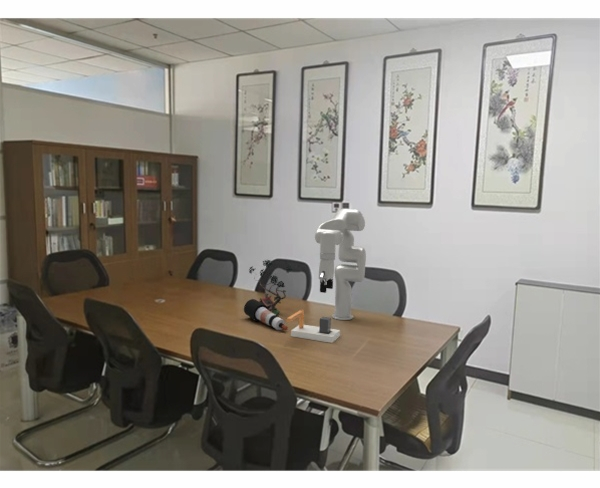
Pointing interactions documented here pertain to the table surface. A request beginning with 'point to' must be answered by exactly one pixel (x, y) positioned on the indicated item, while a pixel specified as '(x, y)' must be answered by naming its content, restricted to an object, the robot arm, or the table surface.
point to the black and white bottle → (263, 314)
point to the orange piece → (296, 315)
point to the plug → (325, 325)
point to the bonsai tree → (267, 300)
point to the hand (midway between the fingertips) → (326, 290)
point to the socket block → (315, 333)
